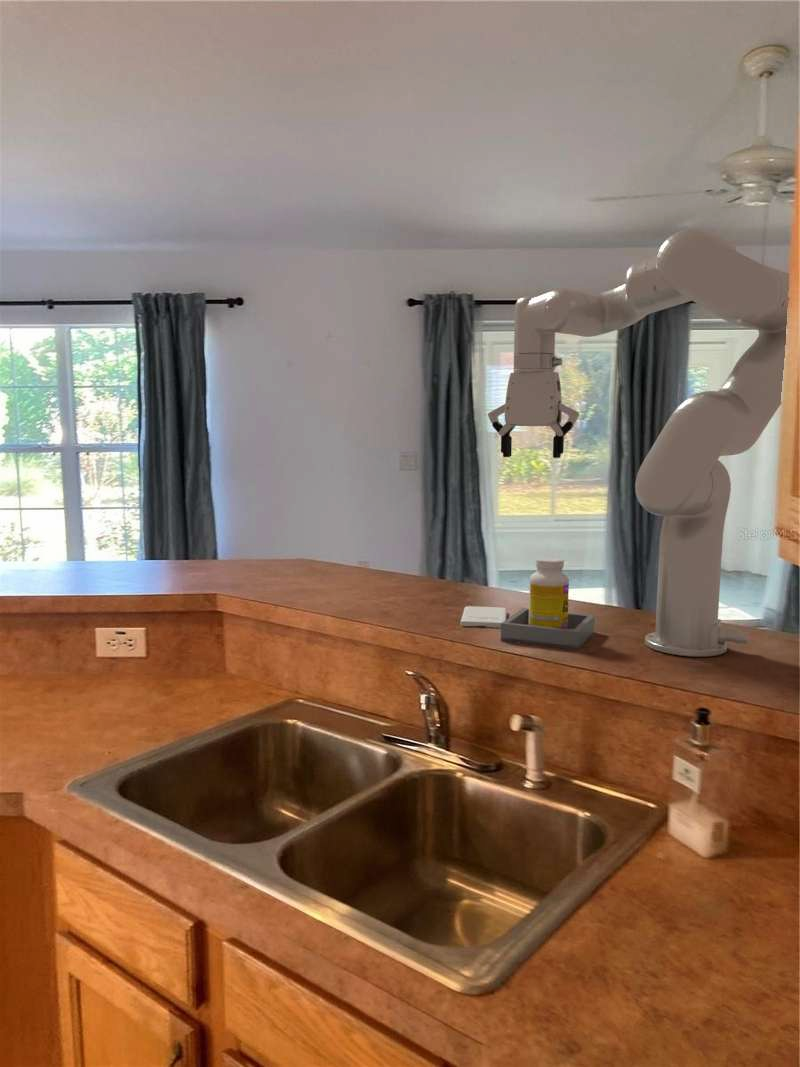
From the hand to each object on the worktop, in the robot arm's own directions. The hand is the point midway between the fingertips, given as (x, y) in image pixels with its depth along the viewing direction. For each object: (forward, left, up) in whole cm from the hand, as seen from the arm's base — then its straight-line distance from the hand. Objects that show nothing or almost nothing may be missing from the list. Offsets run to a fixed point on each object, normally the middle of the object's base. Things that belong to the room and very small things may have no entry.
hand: (531, 457), depth 148 cm
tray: (-8, +15, -30) cm, 35 cm away
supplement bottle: (-8, +15, -30) cm, 34 cm away
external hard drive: (+6, +8, -31) cm, 33 cm away
